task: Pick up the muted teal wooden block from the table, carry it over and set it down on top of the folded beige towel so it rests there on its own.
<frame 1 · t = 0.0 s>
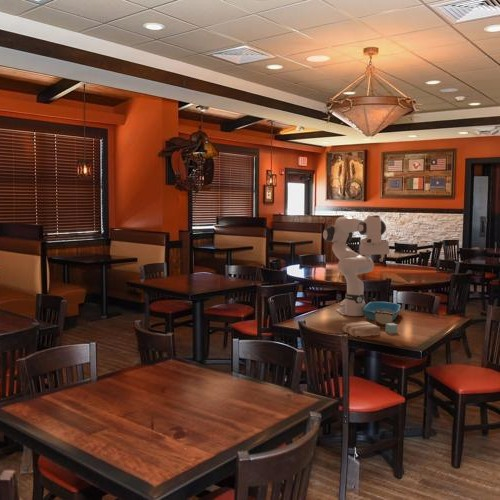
hand: (374, 261, 352), 39 cm above the table, tool pointing down, fingers open, 8 cm apart
teal block: (391, 332, 329), on the table
folded beige towel: (360, 333, 328), on the table
casserole dish: (381, 317, 371), on the table
food container: (384, 327, 343), on the table
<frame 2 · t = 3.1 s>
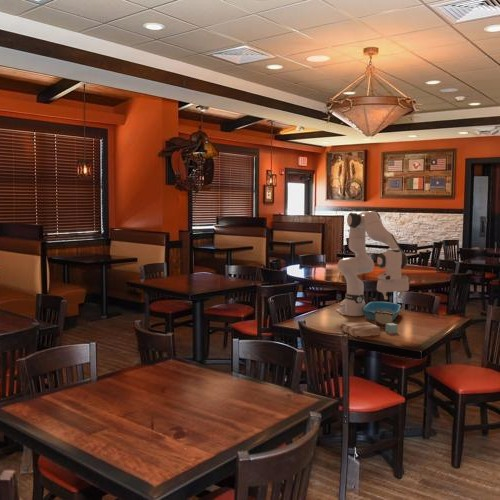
hand: (392, 299, 327), 20 cm above the table, tool pointing down, fingers open, 8 cm apart
nothing on the table moved.
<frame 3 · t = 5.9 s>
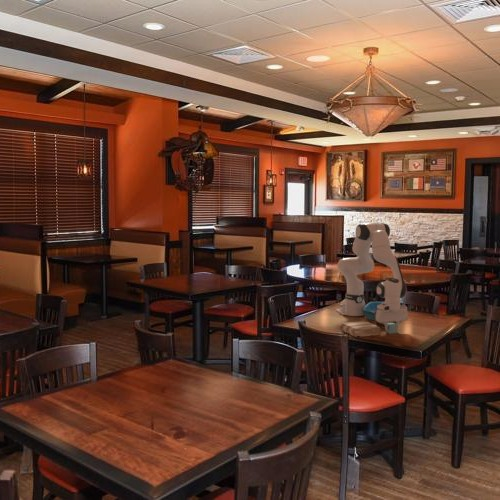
hand: (391, 328, 329), 2 cm above the table, tool pointing down, fingers closed on teal block, 5 cm apart
teal block: (391, 332, 329), on the table, touching gripper
everything else where it was.
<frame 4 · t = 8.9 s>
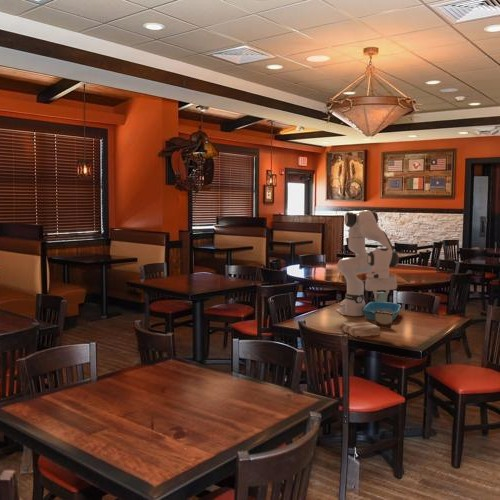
hand: (380, 297, 327), 21 cm above the table, tool pointing down, fingers closed on teal block, 5 cm apart
teal block: (380, 301, 327), point 19 cm above the table, touching gripper
everything else where it was.
when the fingers open (9 cm above the table, at t = 11.9 s): teal block drops 2 cm, resting on folded beige towel.
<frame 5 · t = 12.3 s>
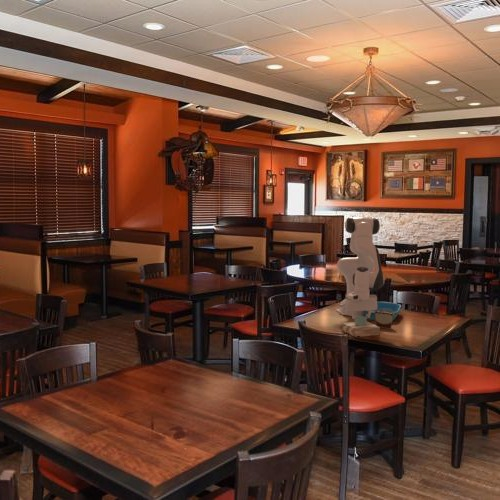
hand: (360, 318, 327), 9 cm above the table, tool pointing down, fingers open, 8 cm apart
teal block: (360, 325, 327), point 4 cm above the table, touching folded beige towel
folded beige towel: (360, 333, 328), on the table, touching teal block
everything else where it was.
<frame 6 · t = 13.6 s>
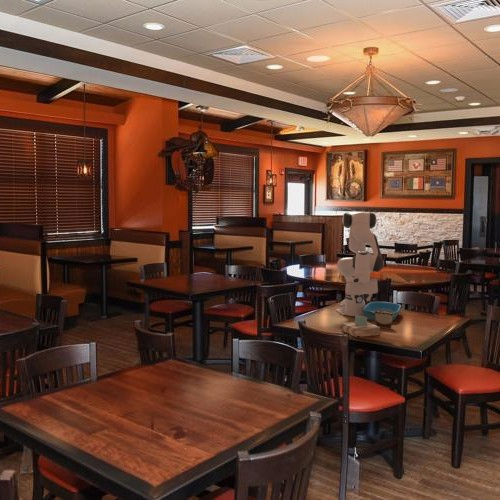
hand: (361, 301, 326), 19 cm above the table, tool pointing down, fingers open, 8 cm apart
nothing on the table moved.
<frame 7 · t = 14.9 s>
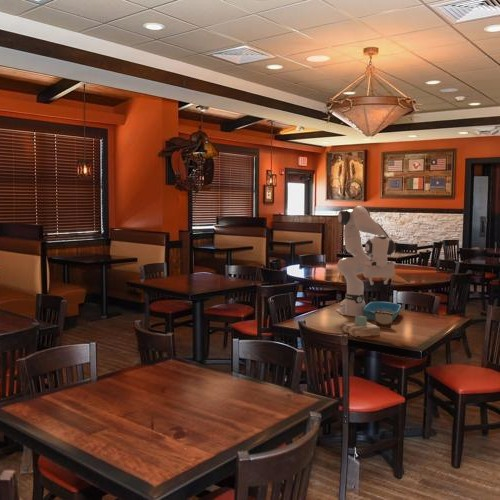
hand: (378, 284, 336), 27 cm above the table, tool pointing down, fingers open, 8 cm apart
teal block: (360, 324, 327), point 4 cm above the table
folded beige towel: (360, 333, 328), on the table
everything else where it was.
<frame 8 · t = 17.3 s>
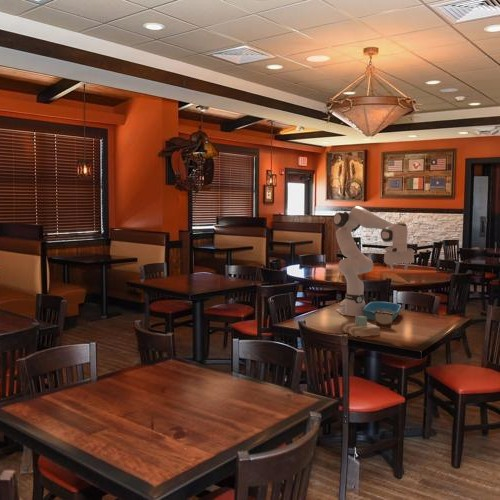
hand: (398, 270, 348), 34 cm above the table, tool pointing down, fingers open, 8 cm apart
nothing on the table moved.
at the end: teal block inside the target area on the folded beige towel (0.2 cm from its centre), point 5.0 cm above the folded beige towel's base; teal block tilted 0°; teal block touching nothing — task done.
